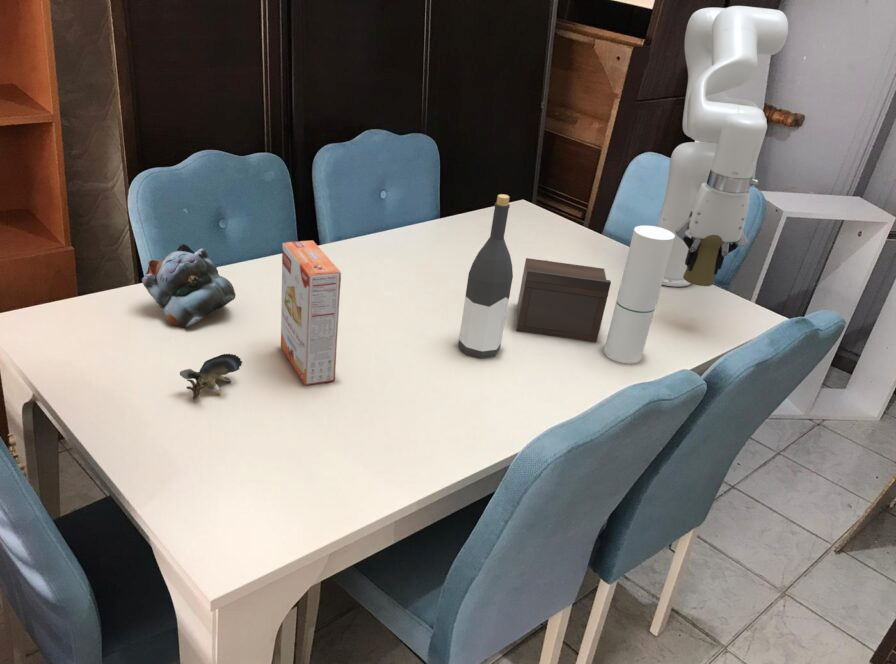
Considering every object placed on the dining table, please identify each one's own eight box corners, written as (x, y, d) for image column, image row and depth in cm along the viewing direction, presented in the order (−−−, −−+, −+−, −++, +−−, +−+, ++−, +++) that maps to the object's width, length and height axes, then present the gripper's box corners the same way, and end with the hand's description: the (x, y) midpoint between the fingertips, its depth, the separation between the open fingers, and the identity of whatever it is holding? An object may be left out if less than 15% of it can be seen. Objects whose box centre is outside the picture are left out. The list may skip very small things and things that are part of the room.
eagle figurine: (221, 404, 134) (252, 372, 140) (196, 369, 131) (228, 337, 138) (192, 412, 139) (223, 380, 145) (167, 378, 136) (199, 347, 142)
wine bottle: (476, 334, 165) (500, 185, 150) (508, 350, 161) (536, 198, 146) (449, 346, 160) (470, 193, 145) (481, 363, 156) (507, 206, 140)
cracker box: (278, 348, 154) (280, 240, 143) (309, 345, 156) (314, 238, 145) (302, 387, 143) (307, 273, 132) (335, 382, 145) (343, 270, 135)
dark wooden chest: (517, 306, 179) (527, 248, 172) (592, 316, 177) (606, 259, 171) (516, 330, 169) (527, 270, 162) (596, 342, 167) (611, 282, 161)
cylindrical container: (642, 350, 166) (675, 230, 153) (639, 366, 160) (673, 242, 147) (605, 342, 167) (635, 222, 155) (601, 358, 161) (632, 234, 149)
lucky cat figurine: (172, 335, 155) (139, 264, 151) (161, 331, 166) (130, 265, 162) (245, 301, 159) (214, 232, 156) (230, 299, 170) (201, 235, 166)
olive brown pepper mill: (715, 288, 168) (732, 236, 162) (684, 283, 169) (699, 231, 163) (711, 276, 173) (727, 225, 167) (681, 271, 174) (696, 221, 168)
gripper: (768, 181, 162) (739, 268, 172) (680, 170, 164) (656, 257, 173) (778, 194, 156) (747, 283, 166) (686, 182, 157) (661, 272, 167)
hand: (701, 269), depth 169 cm, fingers closed on olive brown pepper mill, 4 cm apart
